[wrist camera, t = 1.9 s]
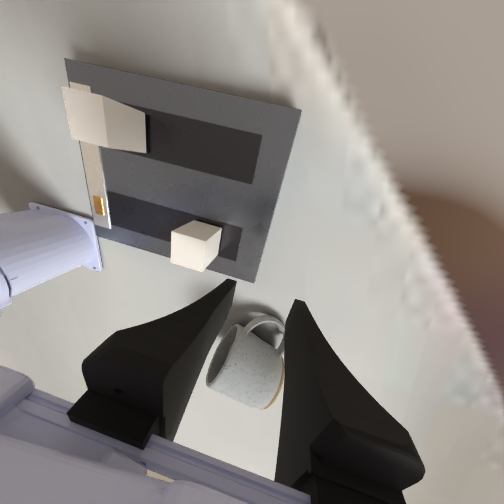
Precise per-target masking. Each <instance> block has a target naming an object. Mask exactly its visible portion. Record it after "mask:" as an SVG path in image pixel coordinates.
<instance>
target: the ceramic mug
mask: <svg viewBox="0 0 504 504" xmlns="http://www.w3.org/2000/svg"><path fill="white" fill-rule="evenodd" d="M268 322H272V323H274V324H276V325H277V326H278V328H279V330H280V331H281V332H282V333H283V339H282V342H281V344H280V346H279V347H278V349H275V348H274V347H272V346H271V345H269V344H268V343H266V342H265V341H263V340H261V339H260V338H259V337H257V336H256V335H254V334H253V333H252V332H250V330H252V329H253V328H254V327H256V326H257V325H259V324H262V323H268ZM284 332H285V326H284V325H283V323H282V322H281V321H280V320H279V319H277V318H275V317H273V316H270V315H262V316H258V317H256V318H254V319H253V320H252V321H250V322H249V323H248V324H247V325H246V326H245V327H243V326H241V325H239V324H235V325H233V326H232V327H231V328H230V329H229V330H228V331H227V333H226V334H225V335H224V337H223V339H222V340H221V342H220V344H219V345H218V347H217V349H216V352H215V354H214V356H213V358H212V361H211V363H210V366H209V369H208V373H207V376H206V385H207V387H209V388H210V389H213V390H215V391H217V392H220V393H222V394H224V395H226V396H228V397H231V398H233V399H235V400H237V401H239V402H241V403H244V404H245V405H248V406H250V407H253V408H257V409H266V408H268V407H269V406H270V405H271V404H272V403H273V402H274V401H275V400H276V398H277V396H278V395H279V393H280V390H281V388H282V384H283V380H284V373H285V369H284V361H283V358H282V355H283V354H284Z"/></svg>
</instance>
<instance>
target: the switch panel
mask: <svg viewBox="0 0 504 504" xmlns="http://www.w3.org/2000/svg"><path fill="white" fill-rule="evenodd" d="M64 59H65V65H66V71H67V76H68V82H69V87H70V88H72V89H77V90H81V91H85V92H90V93H94V94H98V95H102V96H105V97H107V98H110V99H112V100H115V101H117V102H119V103H122V104H124V105H127V106H129V107H132V108H134V109H136V110H139V111H141V112H144V113H145V128H146V153H142V152H134V151H127V150H119V149H112V148H106V147H102V146H98V145H95V144H91V143H87V142H83V141H79V143H80V149H81V155H82V160H83V166H84V171H85V177H86V183H87V188H88V194H89V199H90V205H91V211H92V216H93V222H94V227H95V233H96V236H99V237H103V238H106V239H109V240H112V241H116V242H119V243H122V244H126V245H129V246H132V247H136V248H139V249H142V250H146V251H149V252H152V253H156V254H159V255H162V256H165V257H169V258H171V231H173V230H175V229H177V228H179V227H181V226H183V225H185V224H187V223H189V222H191V221H193V220H195V221H199V222H202V223H206V224H209V225H213V226H216V227H220V228H222V231H221V238H220V244H219V251H218V255H217V256H216V257H215V258H214V259H213V261H212V262H211V263H210V264H209V265H208V266H207V267H206V269H209V270H212V271H215V272H218V273H222V274H225V275H228V276H232V277H235V278H238V279H242V280H245V281H248V282H252V283H254V281H255V278H256V275H257V272H258V268H259V265H260V261H261V257H262V254H263V250H264V247H265V243H266V239H267V236H268V232H269V229H270V225H271V221H272V218H273V214H274V211H275V207H276V203H277V200H278V196H279V193H280V189H281V185H282V182H283V178H284V175H285V171H286V167H287V164H288V160H289V157H290V153H291V149H292V146H293V142H294V139H295V135H296V131H297V128H298V124H299V121H300V117H301V112H302V110H300V109H295V108H290V107H286V106H281V105H277V104H272V103H268V102H263V101H258V100H254V99H249V98H245V97H240V96H235V95H231V94H226V93H222V92H217V91H213V90H208V89H203V88H199V87H194V86H190V85H185V84H180V83H176V82H171V81H167V80H162V79H158V78H153V77H148V76H144V75H139V74H135V73H130V72H125V71H121V70H116V69H112V68H107V67H102V66H98V65H93V64H89V63H84V62H80V61H75V60H70V59H66V58H64Z"/></svg>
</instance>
